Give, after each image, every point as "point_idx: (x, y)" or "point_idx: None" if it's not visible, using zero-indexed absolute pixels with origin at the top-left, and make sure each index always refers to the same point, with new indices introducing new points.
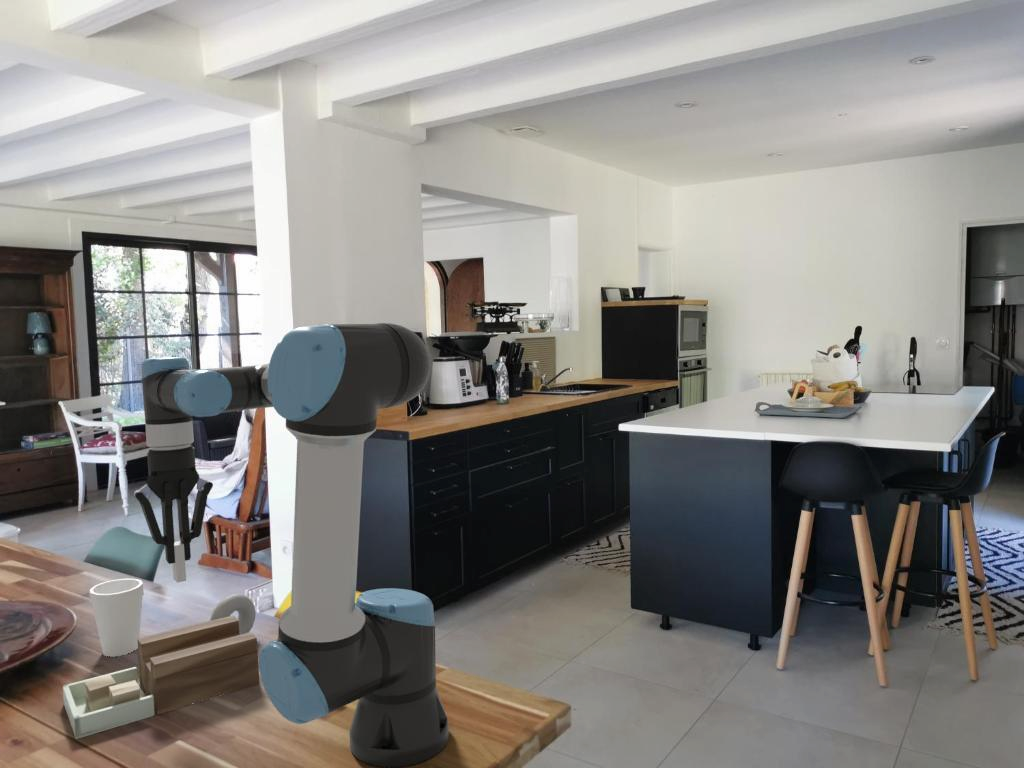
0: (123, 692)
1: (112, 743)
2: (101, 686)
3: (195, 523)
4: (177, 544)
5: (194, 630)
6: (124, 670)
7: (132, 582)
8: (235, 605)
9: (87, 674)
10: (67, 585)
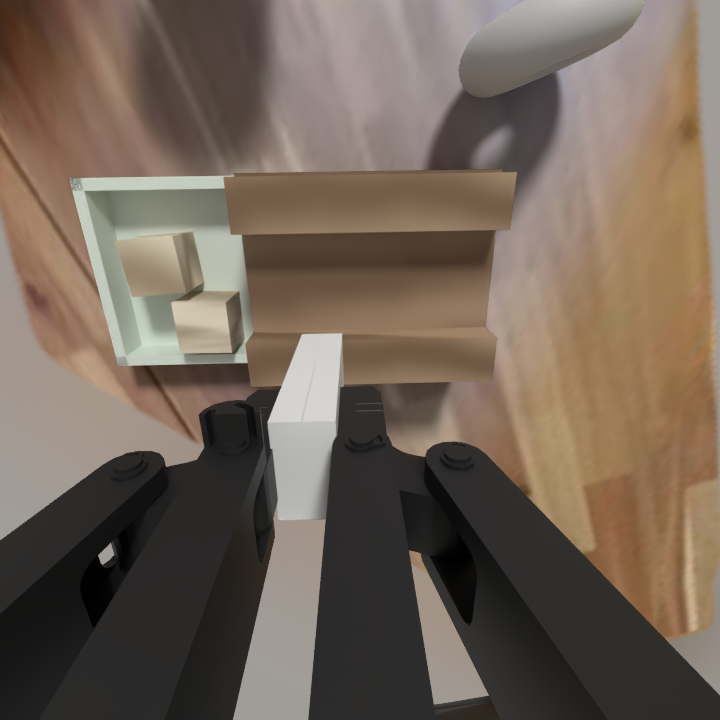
0: (200, 349)
1: (197, 399)
2: (155, 291)
3: (466, 645)
4: (300, 500)
5: (380, 225)
6: (210, 182)
7: None
8: (567, 58)
9: (133, 12)
10: None
